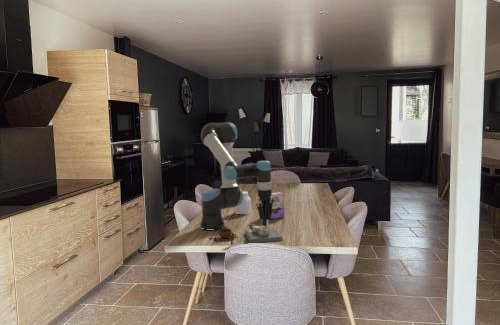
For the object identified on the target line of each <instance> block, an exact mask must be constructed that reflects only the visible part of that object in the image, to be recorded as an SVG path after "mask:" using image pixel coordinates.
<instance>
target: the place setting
mask: <svg viewBox="0 0 500 325" xmlns="http://www.w3.org/2000/svg"><path fill="white" fill-rule="evenodd" d="M231 234H232V235H231ZM217 235H220V236H219V237H220V238H219V237H217V238H216V236H217ZM234 235H235V237H234ZM215 238H216V239H218V240H230V246H231V245H233V246H234V242H233V241H234V240H235V239H236V238H237V235H236V234H235V233H233V231H232V228H231V229H230V228H222V229H219V231H218V234H215V236H214V239H215ZM223 238H228V239H223ZM234 238H235V239H234ZM216 239H215V240H216ZM218 240H217V241H218Z"/></svg>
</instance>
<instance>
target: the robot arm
mask: <svg viewBox="0 0 500 325" xmlns="http://www.w3.org/2000/svg"><path fill="white" fill-rule="evenodd" d="M200 138H201V139H200V140H201V141H202V143H203V144H204V146H206V147H208V148H209V150H210V151H211V153H212V154H213V156H214V157H215V159H216V160H217V161H218V163H219V164H220V172H221V183H222V185H221V186H220V187H219V188H220V189H219V188H211V189H207V190H204V191H203V192H202V193H201V212H202V217H201V220H200V224H199V225H200V226H199V228H200V227H201V228H204V229H219V228H222V227H224V226H225V227H226V225H225V220H224V218H223V215H222V210H225V209H229V208H235V207H236V206H239V205H240V204H241V203H242V201H243V192H244V191H243V190H242V189H241V188H240V187H239V185H238V184H237V180H239V179H240V180H241V179H246V178H256V180H257V196H258V197H259V198H258V203H256V204H255V205H256V207H257V211H258V216H259V219H260V220H262V226H263V227H262V228H265V229H268V230H269V229H270V226H269V225H270V220H272V219H271V218H270V217H271V215H272V206H273V202H274V200H272V199H271V197H270V196H271V195H272V193H273V192H272V167H271V162H270V161H269V160H258V161H256V163H254V162H247V163H245V164H237V163H236V161H235V160H234V149H233V148H234V147H233V146H234V144H235V141H236V140H237V138H238V129H237V127H236V125H235V124H234V123H232V122H229V121H228V122H210V123H207V124H205V125H204V126H203V127H202V129H201V132H200ZM225 227H224V228H225ZM222 229H223V228H222ZM219 230H220V229H219Z"/></svg>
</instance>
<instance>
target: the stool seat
mask: <svg viewBox="0 0 500 325" xmlns="http://www.w3.org/2000/svg"><path fill="white" fill-rule="evenodd" d="M244 234H246V235H245V237H246V239H247V241H248V243H249V244H254V243H253V242H255V243H266V242H278V241H279V242H281V241H283V236H282V234H281V233H280V232H279V231H278V229H277V227H276V228H274V227H271V228H269V236H262V235H260V234H257V233H254V232H252V231H251V229H250V228H248V229H247V230H244Z"/></svg>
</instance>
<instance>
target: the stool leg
mask: <svg viewBox="0 0 500 325" xmlns="http://www.w3.org/2000/svg"><path fill="white" fill-rule="evenodd" d="M248 227H249V228H248V229H251V231H252V232H254V233H257V234H260V235H262V236H269V230H268V229H265V228H263V227H262V226H260V225H259V226H258V225H256V224H254V223H253V224H249V226H248Z"/></svg>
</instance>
